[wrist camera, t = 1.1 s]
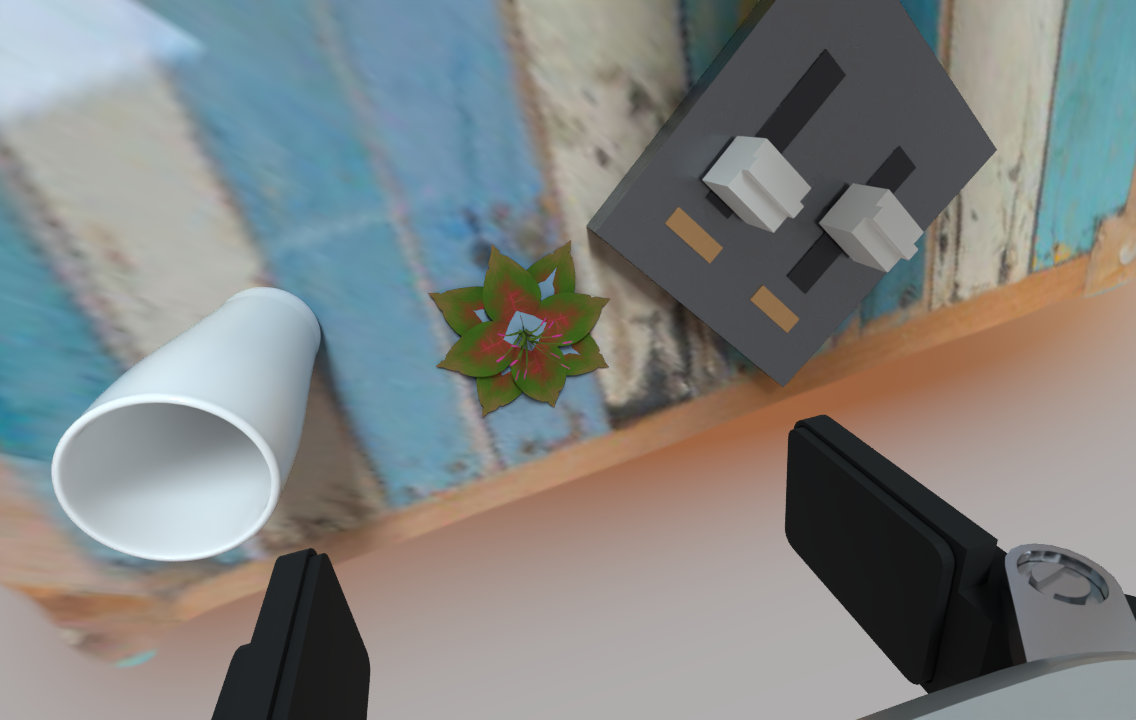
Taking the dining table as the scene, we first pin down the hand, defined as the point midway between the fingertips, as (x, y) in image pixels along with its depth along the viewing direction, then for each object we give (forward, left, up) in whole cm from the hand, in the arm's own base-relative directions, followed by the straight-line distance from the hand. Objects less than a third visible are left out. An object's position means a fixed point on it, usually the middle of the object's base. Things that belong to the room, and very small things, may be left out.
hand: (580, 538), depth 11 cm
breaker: (-13, +9, -22) cm, 28 cm away
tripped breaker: (-16, +17, -23) cm, 33 cm away
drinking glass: (+10, -7, -25) cm, 28 cm away
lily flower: (+2, +5, -26) cm, 26 cm away
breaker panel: (-15, +13, -25) cm, 32 cm away
